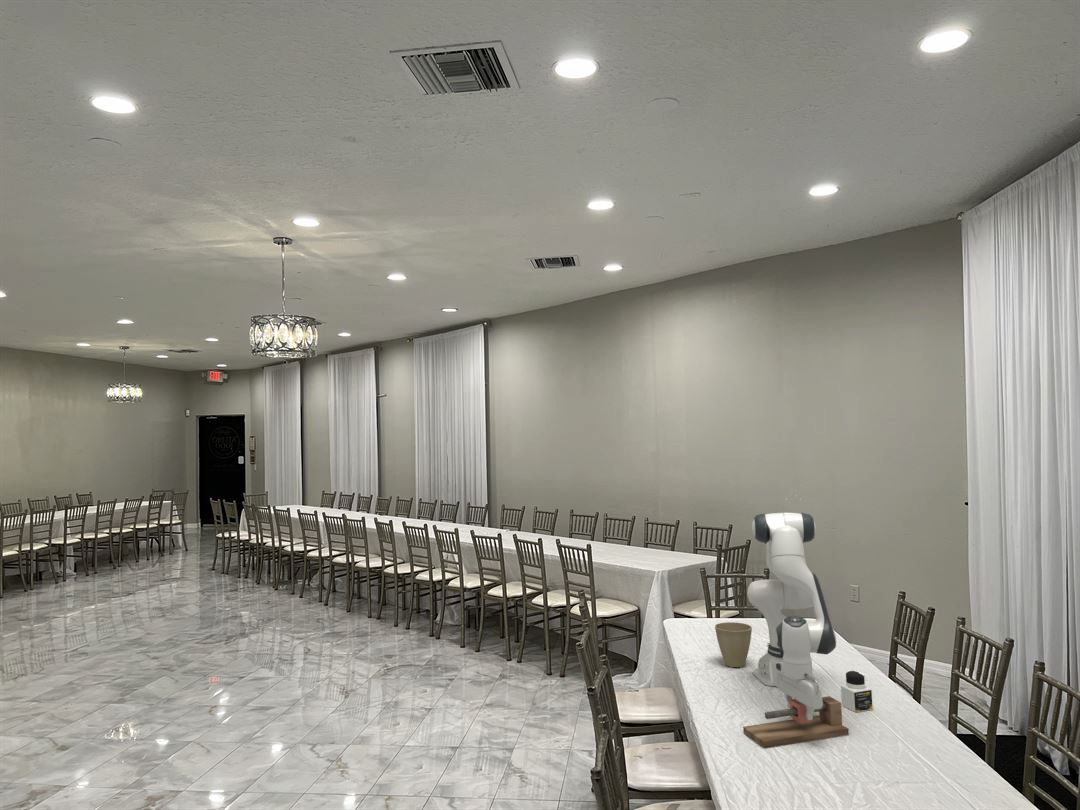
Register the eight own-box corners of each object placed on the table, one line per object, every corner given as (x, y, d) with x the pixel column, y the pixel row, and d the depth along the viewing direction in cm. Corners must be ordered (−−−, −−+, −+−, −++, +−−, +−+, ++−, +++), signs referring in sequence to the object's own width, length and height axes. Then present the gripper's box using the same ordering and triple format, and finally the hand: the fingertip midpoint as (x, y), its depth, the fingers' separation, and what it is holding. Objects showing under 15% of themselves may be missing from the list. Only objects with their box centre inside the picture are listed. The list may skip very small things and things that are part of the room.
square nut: (790, 717, 230) (789, 699, 231) (800, 715, 231) (799, 698, 232) (800, 723, 225) (799, 705, 225) (810, 722, 226) (809, 704, 226)
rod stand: (743, 733, 230) (742, 704, 230) (825, 720, 237) (823, 693, 237) (763, 748, 218) (762, 718, 218) (848, 734, 225) (847, 705, 226)
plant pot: (758, 670, 289) (756, 630, 289) (721, 671, 289) (719, 631, 290) (748, 659, 304) (746, 621, 304) (713, 660, 304) (711, 622, 305)
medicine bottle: (855, 712, 242) (853, 677, 243) (841, 705, 249) (839, 670, 250) (873, 709, 244) (871, 674, 245) (858, 702, 251) (856, 668, 252)
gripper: (826, 678, 220) (829, 724, 219) (788, 659, 239) (790, 701, 239) (808, 681, 218) (811, 727, 217) (771, 661, 238) (773, 703, 237)
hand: (800, 713), depth 228 cm, fingers open, 8 cm apart
